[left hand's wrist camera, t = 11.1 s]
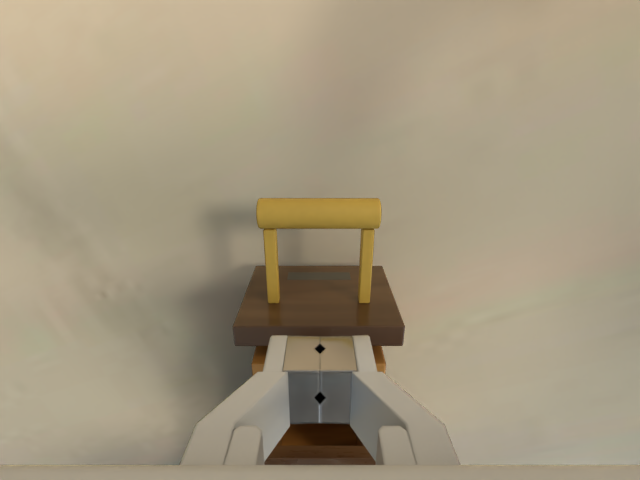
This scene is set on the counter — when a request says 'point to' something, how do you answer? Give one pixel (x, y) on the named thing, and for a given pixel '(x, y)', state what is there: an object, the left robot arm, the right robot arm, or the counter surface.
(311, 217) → the drawer
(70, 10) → the counter surface
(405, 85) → the counter surface
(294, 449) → the wooden drawer cabinet
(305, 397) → the left robot arm
